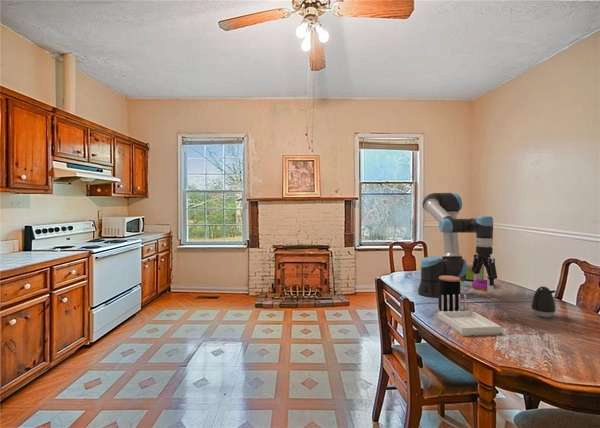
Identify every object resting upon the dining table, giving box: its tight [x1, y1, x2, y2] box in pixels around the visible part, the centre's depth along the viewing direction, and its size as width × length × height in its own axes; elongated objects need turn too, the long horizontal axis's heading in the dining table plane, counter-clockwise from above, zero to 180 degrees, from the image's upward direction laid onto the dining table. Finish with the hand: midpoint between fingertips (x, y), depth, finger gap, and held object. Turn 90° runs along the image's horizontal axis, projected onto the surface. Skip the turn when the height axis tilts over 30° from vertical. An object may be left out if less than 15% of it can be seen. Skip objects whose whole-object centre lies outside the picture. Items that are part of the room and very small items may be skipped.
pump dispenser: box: [530, 286, 557, 319], centre depth 174 cm, size 10×10×15 cm
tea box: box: [459, 262, 485, 288], centre depth 236 cm, size 15×10×15 cm, turn 58°
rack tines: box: [440, 293, 467, 312], centre depth 173 cm, size 2×16×12 cm, turn 95°
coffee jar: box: [438, 275, 461, 311], centre depth 183 cm, size 11×11×18 cm
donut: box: [472, 279, 496, 293], centre depth 176 cm, size 10×10×5 cm
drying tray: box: [437, 310, 502, 337], centre depth 161 cm, size 22×18×4 cm
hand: (483, 288), depth 176 cm, fingers closed on donut, 10 cm apart
